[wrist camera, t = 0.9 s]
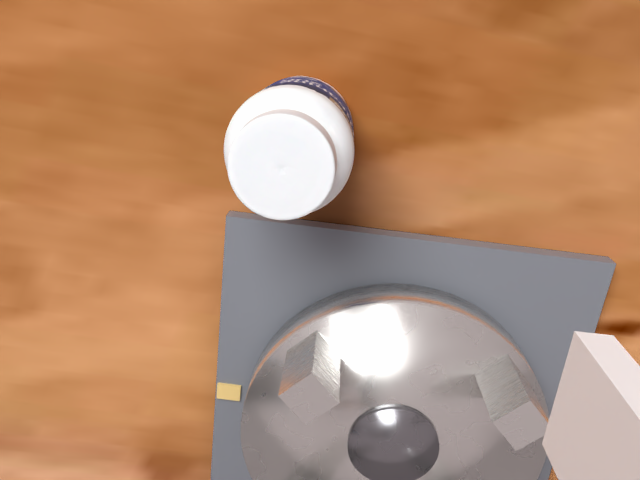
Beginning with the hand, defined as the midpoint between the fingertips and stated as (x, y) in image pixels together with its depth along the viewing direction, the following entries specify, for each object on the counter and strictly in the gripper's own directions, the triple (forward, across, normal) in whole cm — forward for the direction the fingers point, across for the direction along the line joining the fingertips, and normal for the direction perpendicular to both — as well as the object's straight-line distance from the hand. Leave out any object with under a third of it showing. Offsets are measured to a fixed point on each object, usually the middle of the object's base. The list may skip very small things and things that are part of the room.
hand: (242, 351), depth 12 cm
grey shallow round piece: (+19, +6, -15) cm, 24 cm away
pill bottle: (+20, -1, +1) cm, 20 cm away
